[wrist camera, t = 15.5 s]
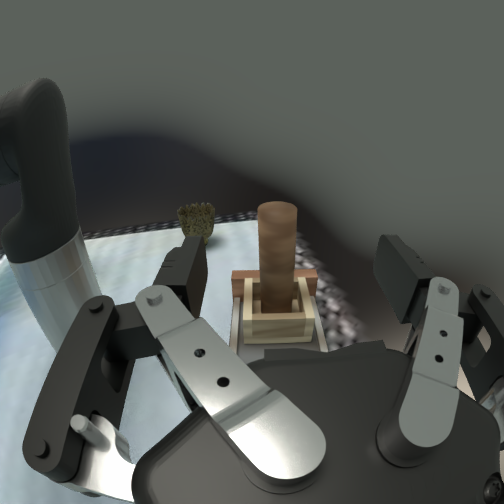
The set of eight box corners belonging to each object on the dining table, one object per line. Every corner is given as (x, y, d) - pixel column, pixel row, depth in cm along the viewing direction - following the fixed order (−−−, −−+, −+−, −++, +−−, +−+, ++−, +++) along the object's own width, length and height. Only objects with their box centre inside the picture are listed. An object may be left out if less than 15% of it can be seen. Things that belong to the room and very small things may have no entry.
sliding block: (310, 341, 32) (315, 317, 30) (244, 343, 32) (242, 319, 30) (302, 300, 39) (304, 276, 37) (245, 301, 39) (244, 278, 37)
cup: (220, 249, 55) (217, 212, 51) (184, 256, 53) (178, 218, 49) (214, 234, 61) (211, 200, 57) (181, 239, 60) (176, 205, 56)
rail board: (337, 417, 24) (350, 391, 21) (224, 423, 24) (218, 398, 21) (311, 299, 41) (315, 269, 38) (234, 301, 41) (232, 270, 39)
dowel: (254, 312, 35) (249, 210, 28) (273, 296, 38) (273, 198, 30) (279, 325, 33) (282, 220, 26) (297, 307, 36) (304, 207, 28)
